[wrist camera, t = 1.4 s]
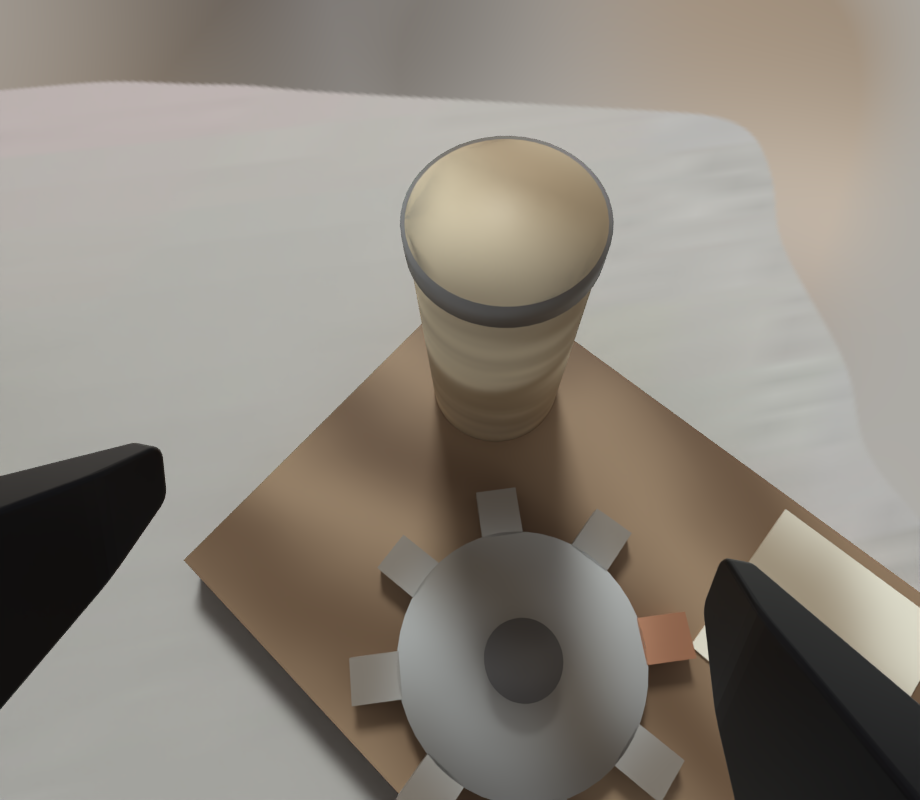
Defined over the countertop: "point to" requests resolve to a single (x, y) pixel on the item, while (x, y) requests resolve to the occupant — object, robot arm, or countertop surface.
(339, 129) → the countertop surface
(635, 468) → the sprocket board
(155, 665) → the countertop surface
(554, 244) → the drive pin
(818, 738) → the robot arm
